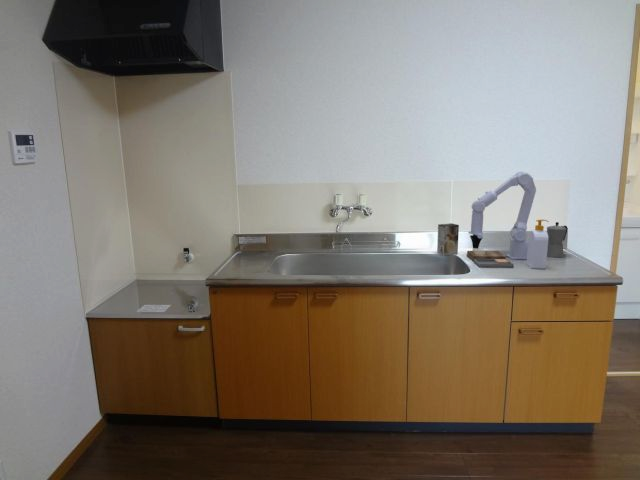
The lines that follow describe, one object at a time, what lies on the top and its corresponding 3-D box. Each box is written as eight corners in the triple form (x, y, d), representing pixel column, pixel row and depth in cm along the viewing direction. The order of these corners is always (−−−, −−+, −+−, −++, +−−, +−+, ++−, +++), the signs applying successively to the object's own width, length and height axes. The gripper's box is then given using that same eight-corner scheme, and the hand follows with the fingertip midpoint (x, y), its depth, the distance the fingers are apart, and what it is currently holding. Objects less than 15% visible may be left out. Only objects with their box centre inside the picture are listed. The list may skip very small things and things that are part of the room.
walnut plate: (497, 256, 243) (498, 250, 243) (505, 262, 231) (506, 256, 231) (466, 256, 244) (467, 250, 243) (473, 262, 232) (473, 256, 232)
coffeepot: (553, 259, 237) (557, 224, 233) (537, 255, 245) (540, 221, 242) (572, 255, 244) (576, 222, 240) (556, 252, 252) (559, 219, 249)
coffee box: (450, 251, 255) (451, 223, 252) (457, 254, 249) (459, 224, 246) (436, 253, 251) (437, 224, 248) (443, 255, 246) (445, 226, 242)
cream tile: (482, 251, 241) (482, 248, 240) (485, 254, 236) (485, 250, 235) (472, 251, 241) (472, 248, 240) (475, 254, 236) (475, 250, 235)
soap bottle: (547, 269, 218) (552, 221, 214) (531, 268, 219) (536, 221, 214) (541, 264, 227) (545, 218, 222) (526, 263, 228) (530, 218, 223)
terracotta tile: (508, 261, 222) (508, 265, 222) (504, 259, 227) (504, 263, 227) (497, 261, 222) (497, 265, 223) (494, 259, 227) (494, 263, 227)
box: (506, 262, 231) (506, 259, 230) (513, 267, 221) (513, 264, 220) (473, 262, 231) (473, 258, 231) (479, 267, 222) (479, 264, 221)
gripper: (465, 221, 249) (464, 246, 251) (473, 226, 234) (471, 252, 237) (478, 221, 248) (477, 246, 251) (487, 226, 234) (485, 252, 237)
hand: (475, 249), depth 244 cm, fingers closed
